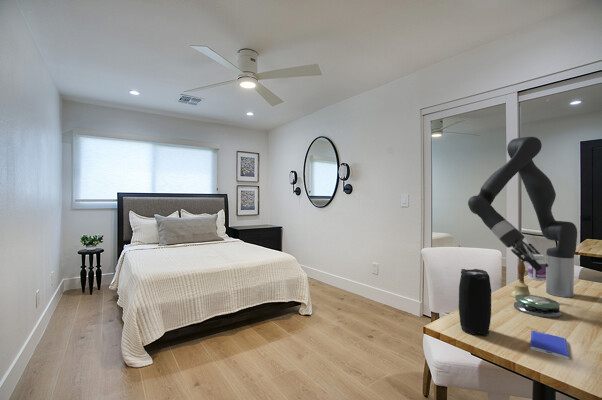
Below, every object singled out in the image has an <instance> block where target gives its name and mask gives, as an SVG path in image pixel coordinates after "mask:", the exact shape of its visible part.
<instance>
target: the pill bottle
mask: <svg viewBox="0 0 602 400" xmlns="http://www.w3.org/2000/svg"><path fill="white" fill-rule="evenodd" d="M531 256H532V257H533V260H535V261H536V262H538V263H539V264H540V265H541V266H542V269H540V270H538V271H536V270H535V269H534V268H533V267H532V266H531V265H530V264H529V263H527V276H528V279H529V280H532V281H535V282H545V281H546V260H544V259H545V255H544V254H541V253H540V254H531Z"/></svg>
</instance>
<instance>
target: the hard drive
mask: <svg viewBox="0 0 602 400" xmlns="http://www.w3.org/2000/svg"><path fill="white" fill-rule="evenodd" d="M529 341H530V343H529V349H530V350H532V351H537V352H540V353H544V354H547V355H551V356H556V357H559V358H562V359H565V358H566V359H567V360H570V354H569V348H568V343H567V339H566V338H565V337H561V336H557V335H553V334H550V333H545V332H541V331H538V330H537V331H536V330H531V332H530V340H529Z"/></svg>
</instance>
